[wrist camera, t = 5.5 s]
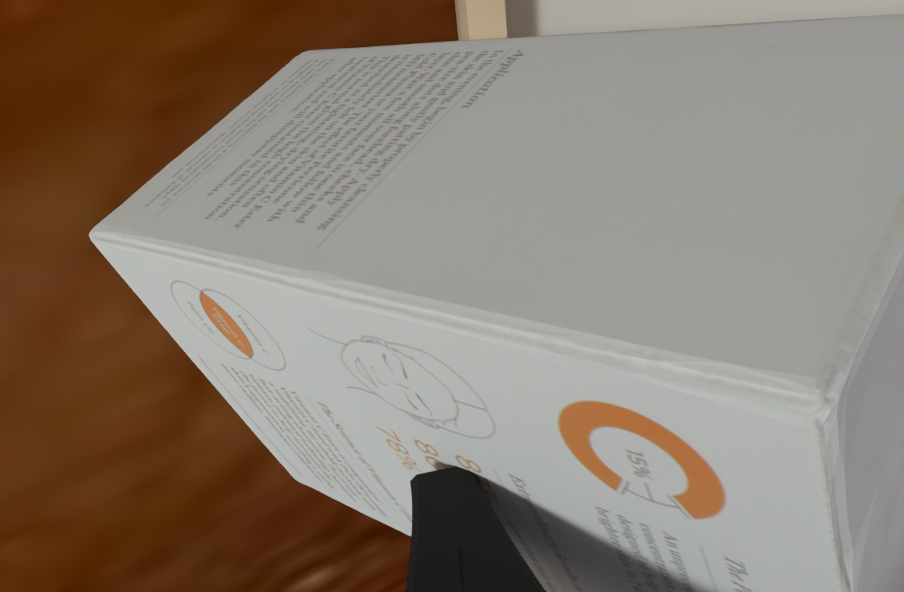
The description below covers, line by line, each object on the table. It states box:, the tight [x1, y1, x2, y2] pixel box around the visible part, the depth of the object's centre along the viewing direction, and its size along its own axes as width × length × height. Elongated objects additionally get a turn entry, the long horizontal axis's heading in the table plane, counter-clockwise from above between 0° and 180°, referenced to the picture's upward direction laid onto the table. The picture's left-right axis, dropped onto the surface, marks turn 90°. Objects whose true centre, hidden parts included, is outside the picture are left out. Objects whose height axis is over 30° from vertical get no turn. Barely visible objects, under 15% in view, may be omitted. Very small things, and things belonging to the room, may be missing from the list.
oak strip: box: [455, 0, 507, 41], centre depth 20 cm, size 12×1×2 cm, turn 6°
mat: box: [505, 0, 904, 38], centre depth 22 cm, size 13×12×1 cm
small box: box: [89, 14, 904, 592], centre depth 14 cm, size 8×6×13 cm
